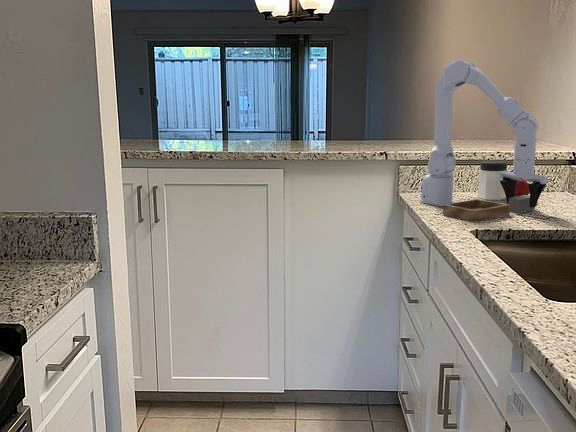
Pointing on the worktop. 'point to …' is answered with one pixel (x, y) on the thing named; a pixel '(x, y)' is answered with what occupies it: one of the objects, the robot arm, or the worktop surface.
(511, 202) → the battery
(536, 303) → the worktop surface
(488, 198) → the jar
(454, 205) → the wooden tray
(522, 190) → the onion
